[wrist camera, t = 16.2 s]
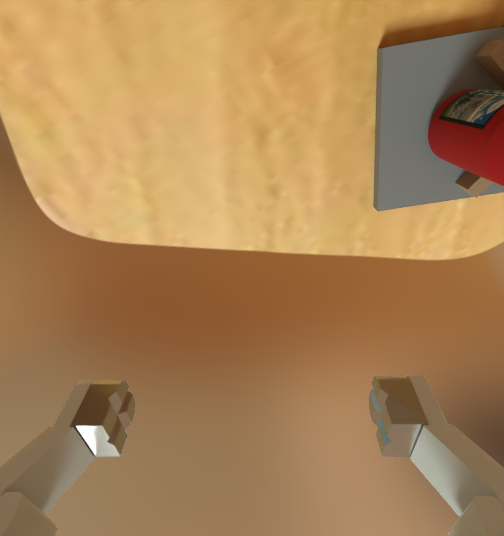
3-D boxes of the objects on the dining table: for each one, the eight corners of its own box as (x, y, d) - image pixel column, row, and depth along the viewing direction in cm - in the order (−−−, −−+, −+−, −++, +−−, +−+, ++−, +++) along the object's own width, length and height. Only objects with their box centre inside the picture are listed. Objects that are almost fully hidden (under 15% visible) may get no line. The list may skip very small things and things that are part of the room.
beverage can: (501, 86, 33) (619, 92, 23) (481, 157, 36) (576, 191, 26) (431, 90, 33) (516, 99, 23) (418, 161, 36) (487, 197, 26)
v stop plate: (373, 206, 40) (385, 219, 37) (377, 48, 32) (393, 45, 29) (512, 185, 39) (538, 196, 36) (551, 17, 32) (589, 10, 28)
